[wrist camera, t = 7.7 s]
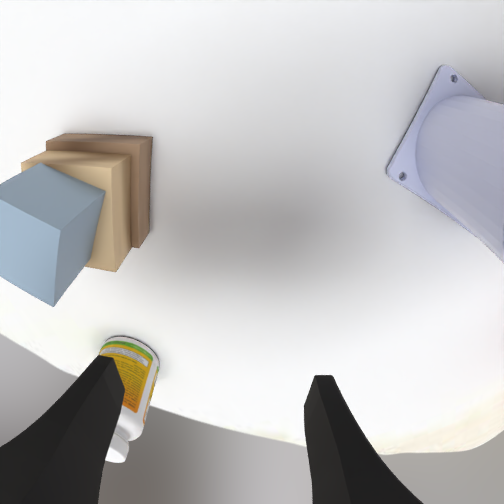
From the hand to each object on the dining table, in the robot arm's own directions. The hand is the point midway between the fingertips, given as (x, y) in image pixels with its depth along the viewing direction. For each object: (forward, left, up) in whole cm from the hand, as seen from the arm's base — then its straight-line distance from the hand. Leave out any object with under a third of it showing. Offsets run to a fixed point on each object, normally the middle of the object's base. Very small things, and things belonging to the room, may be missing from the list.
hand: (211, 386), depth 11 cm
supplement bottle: (+4, +14, -11) cm, 18 cm away
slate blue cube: (+9, -1, -6) cm, 11 cm away
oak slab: (+9, 0, -8) cm, 12 cm away
